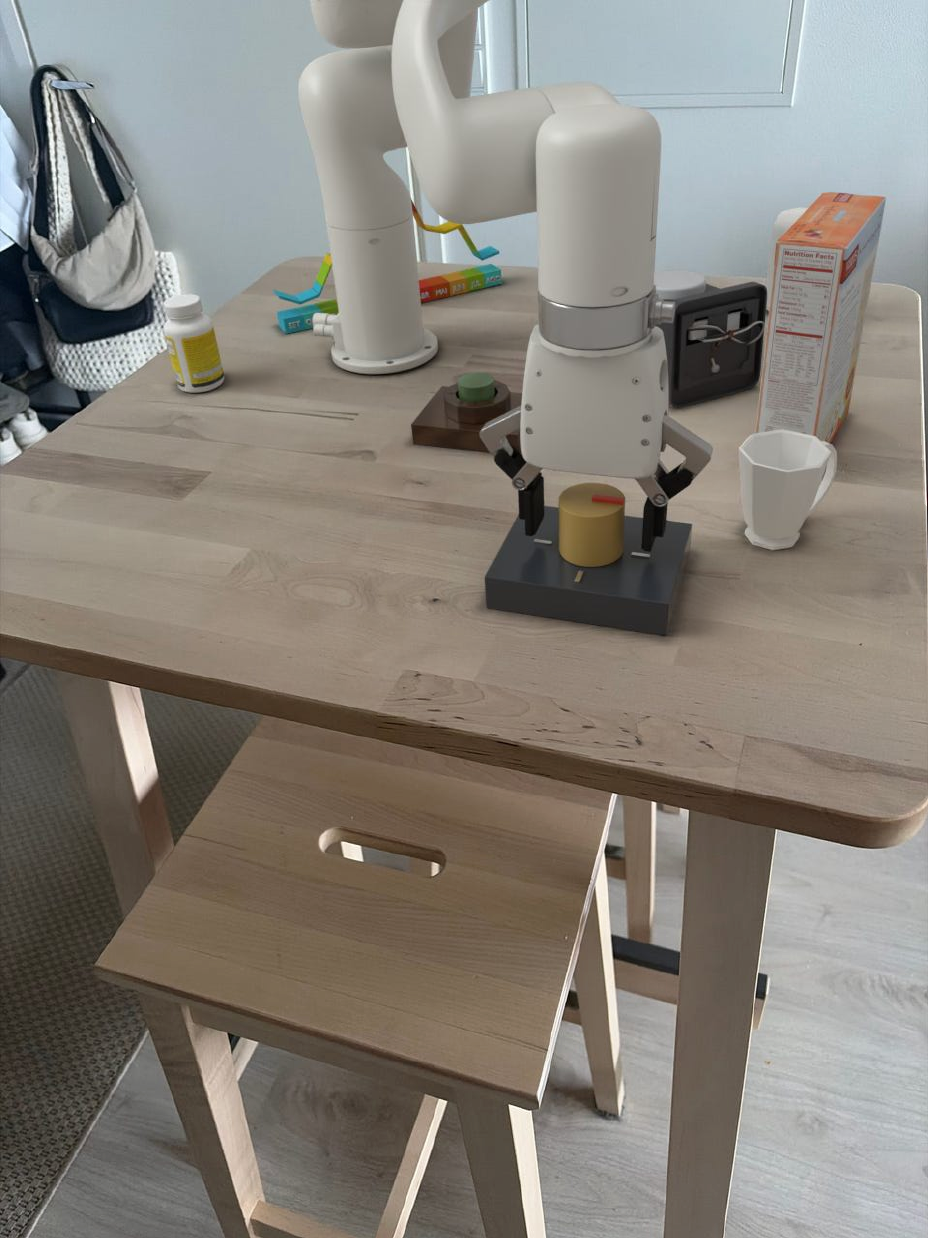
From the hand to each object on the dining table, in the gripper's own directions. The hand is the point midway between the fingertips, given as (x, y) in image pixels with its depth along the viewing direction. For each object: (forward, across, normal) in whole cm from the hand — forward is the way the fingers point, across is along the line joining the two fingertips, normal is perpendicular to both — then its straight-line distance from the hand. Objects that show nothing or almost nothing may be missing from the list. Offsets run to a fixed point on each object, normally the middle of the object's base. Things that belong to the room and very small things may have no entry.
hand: (591, 533), depth 77 cm
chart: (+5, +39, -54) cm, 67 cm away
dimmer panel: (+5, 0, 0) cm, 5 cm away
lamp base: (+4, +17, -23) cm, 29 cm away
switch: (+1, +17, -23) cm, 29 cm away
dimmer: (+1, 0, 0) cm, 1 cm away
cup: (+5, -14, -11) cm, 18 cm away
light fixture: (+5, -1, -39) cm, 39 cm away
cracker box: (+5, -14, -27) cm, 31 cm away
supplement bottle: (+5, +52, -27) cm, 59 cm away
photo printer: (+5, -12, -58) cm, 59 cm away
